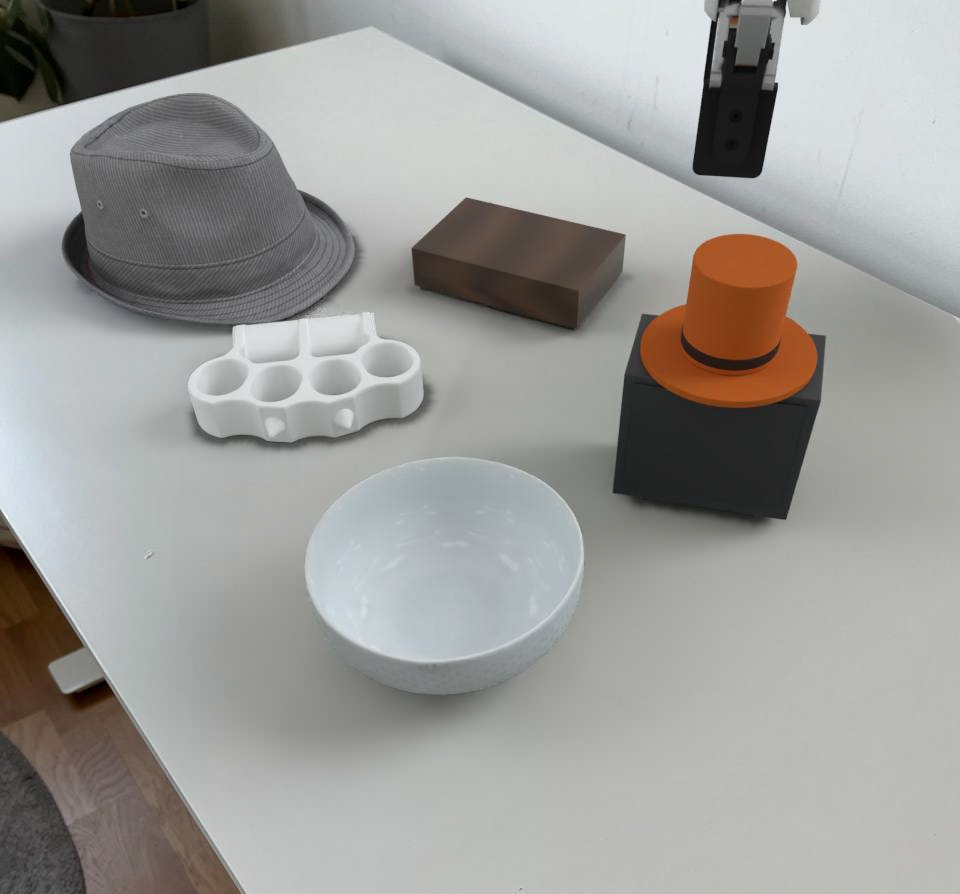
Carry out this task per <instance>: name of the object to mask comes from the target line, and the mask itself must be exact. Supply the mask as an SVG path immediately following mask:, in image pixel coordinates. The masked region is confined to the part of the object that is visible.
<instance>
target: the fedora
mask: <svg viewBox="0 0 960 894" xmlns="http://www.w3.org/2000/svg"><path fill="white" fill-rule="evenodd" d="M69 158H70V165H71V170H72V176H73V181H74V184H75V185H74V186H75V191H76V193H77V198H78V201H79V206H80V209H81V210H80V212H78V213H77V214H76V215H75V216H74V217H73V219H72V220H71V221H70V223H69V224H68V226H67V227H66V229H65V231H64V233H63V235H62V239H61V246H60V247H61V254H62V258H63V260H64V262H65V264H66V265H67V267H68V268H69V269H70V271H71V272H72V273H73V275H74V276H75V277H77V279H79V280H80V281H81V282H82V283H83V284H84V285H85V286H86V287H88V288H89V289H90V290H92V291H93V293H95V294H96V295H98V296H99V297H101V298H103V299H104V300H105V301H108V302H109V303H112V304H114V305H117V306H119V307H121V308H123V309H125V310H129V311H131V312H134V313H139V314H143V315H147V316H150V317H153V318H159V319H165V320H170V321H177V322H185V323H190V324H191V323H192V324H200V325H210V326H223V327H224V326H226V327H234V326H236V325H253V324H263V323H273V322H281V321H284V320H286V319H288V318H290V317H293V316H295V315H297V314H299V313H302V312H304V311H305V310H307V309H309V308H310V307H312V306H313V305H315V304H316V303H317V302H318V301H320V300H321V299H323V298H324V297H325V296H327V295H328V294H329V293H330V292H331V291H332V290H333V289H334V288H336V286H337V285H338V284H339V283H340V282H341V281H342V280H343V279H344V277H346V275H347V274H348V273H349V271H350V269H351V268H352V266H353V263H354V260H355V259H354V258H355V255H356V253H355V252H356V247H355V242H354V238H353V235H352V234H351V231H350V229H349V227H348V225H346V223H345V222H344V220H343V218H342V217H341V216H340V215H339V213H338V212H337V211H335V209H334V208H332V207H331V206H330V205H329V204H327V203H326V202H324V201H323V200H321V199H320V198H319V197H317V196H315V195H312V194H310V193H308V192H306V191H303V190H301V189H299V188H297V185H296V183H295V181H294V179H293V178H292V176H291V174H290V173H289V171H288V169H287V167H286V165H285V163H284V161H283V159H282V156H281V154H280V152H279V151H278V148H277V147H276V144H275V142H274V140H273V139H272V138H271V137H270V135H269V134H268V133H267V132H266V131H265V130H263V129H262V127H261V126H260V125H258V124H257V123H256V122H255V121H254V120H253V119H252V118H251V117H250V116H249V115H247V114H246V113H245V112H244V110H242V109H241V108H240V107H238V106H237V105H235V104H233V102H230V101H228V100H226V99H224V98H223V97H220V96H217V95H214V94H210V93H204V92H203V93H202V92H184V93H175V94H171V95H166V96H161V97H158V98H154V99H152V100H149V101H146V102H141V103H139V104H138V103H137V104H135V105H133V106H130V107H127V108H125V109H124V110H121V111H119V112H117V113H115V114H113V115H111V116H109V117H108V118H106V119H105V120H104V121H102V122H101V123H100V124H98V125H95V126H94V127H93V128H91V129H90V130H88V131H87V132H85V133H84V134H83V135H81V137H80V138H79V139H78V140H77V141H76V142H75V143H74V144H73V146H72V147H71V149H70V153H69Z"/></svg>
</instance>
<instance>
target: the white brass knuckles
mask: <svg viewBox="0 0 960 894" xmlns="http://www.w3.org/2000/svg"><path fill="white" fill-rule="evenodd" d="M231 333H232V334H231V335H232V336H231V337H232V338H231V339H232V340H231V341H232V348H231V349H230V350H229V351H228V352H227V353H226V354H224V355H222V356H218V357H215V358H212V359H209V360H208V361H205V362H203V363H202V364H201V365H199V366H197V368H196V369H194V371H193V372H192V373H191V374H190V376H189V378H188V381H187V392H188V395H189V398H190V401H191V404H192V408H193V410H194V411H193V412H194V414H195V417H196V420H197V423H198V425H199V427H200V428H201V429H202V431H204V433H206V434H209V435H210V436H213V437H215V438H220V439H224V438H228V437H232V436H253V437H258V438H261V439H263V440H265V441H266V442H277V443H291V444H292V443H293V442H296V441H299V440H301V439H305V438H306V439H307V438H310V437H311V438H312V437H328V438H333V439H337V438H339V437H343V436H346V435H351V434H353V433H356V432H359V431H360V430H361V429H363V428H364V427H366V426H368V425H369V424H372V423H374V422H378V421H381V420H386V419H401V420H402V419H404V418H406V417H408V416H410V415H411V414H414V412H416V410H417V409H419V408H420V406H421V404H422V403H423V400H424V393H425V391H424V381H423V380H424V379H423V369H422V360H421V357H420V355H419V353H418V351H417V350H416V349H415V348H413V347H412V346H411V345H409V344H407V343H405V342H402V341H399V340H393V339H384V338H382V337H380V336H378V335H377V327H376V319H375V312H370V311H365V312H364V311H363V312H361V313H356V314H345V315H344V314H343V315H334V316H323V317H313V318H308V317H305V318H299V319H294V320H281V321H277V322H273V323H263V324H253V325H236V326H232V332H231Z"/></svg>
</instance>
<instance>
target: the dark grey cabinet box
mask: <svg viewBox="0 0 960 894" xmlns="http://www.w3.org/2000/svg"><path fill="white" fill-rule="evenodd" d="M658 316H659V314H658V315H657V314H650V313H649V314H648V313H641V316H640V319H639V322H638V326H637V330H636V332H635V337H634V339H633V343H632V346H631V350H630V354H629V357H628V361H627V364H626V369H625V371H624V376H623V384H622V394H621V403H620V415H619V425H618V433H617V444H616V453H615V466H614V475H613V483H612V494H615V495H616V494H617V495H621V496H627V497H636V498H641V499H642V500H647V501H653V502H661V503H668V504H674V505H679V506H680V505H681V506H687V507H694V508H700V509H706V510H711V511H719V512H726V513H730V514H739V515H744V516H750V517H755V516H756V517H762V518H763V517H764V518H768V519H776V520H783V521H787V519H788V515H789V512H790V508H791V505H792V502H793V498H794V495H795V491H796V488H797V484H798V481H799V479H800V474H801V470H802V467H803V464H804V460H805V457H806V454H807V451H808V450H807V449H808V446H809V443H810V440H811V437H812V432H813V429H814V426H815V424H816V423H815V422H816V419H817V415H818V412H819V409H820V405H821V402H822V391H823V380H824V366H825V355H826V343H827V335H823V334H814V333H808V334H809V336H810V337H811V339H812V340H813V342H814V344H815V347H816V350H817V364H816V368H815V371H814V374H813V376H812V378H811V379H810V381H809V382H808V383H807V384H806V385H805V386H804V387H803V388H802V389H801V390H800V391H798V392H797V393H796V394H794V395H792V396H790V397H789V398H786V399H784V400H781V401H779V402H776V403H772V404H769V405H763V406H758V407H748V408H728V407H718V406H711V405H706V404H702V403H698V402H695V401H692V400H689V399H686V398H683V397H681V396H679V395H676V394H675V393H673V392H671V391H669V390H667V389H666V388H664V387H663V386H662V385H660V384H659V383H658V382H657V381H656V380H654V379H653V378H652V377H651V375H650V374H649V373H648V372H647V370H646V368H645V367H644V365H643V362H642V359H641V354H640V347H641V339H642V336H643V333H644V331H645V330H646V328H647V327H648V325H649V324H650V323H651V322H652V321H653V320H654V319H655V318H657V317H658Z"/></svg>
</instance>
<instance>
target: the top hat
mask: <svg viewBox="0 0 960 894" xmlns="http://www.w3.org/2000/svg"><path fill="white" fill-rule="evenodd" d="M797 270H798V260H797V257H796V256H795V254H794V252H792V250H791V249H790V248H788V246H786V245H784V244H782V243H781V242H780V241H777V240H774V239H771V238H768V237H765V236H762V235H761V236H760V235H756V234H750V233H749V234H748V233H730V234H723V235H719V236H715V237H711V238H710V239H707V240H706V241H704V242H702V243H701V244H700V245H699V246H698V247H697V248H696V249H695V251H694V253H693V258H692V263H691V271H690V276H689V284H688V290H687V296H686V303H684V304H680V305H678V306H675V307H673V308H670V309H668V310H666V311H664V312H662V313H661V314H660V315H659V314H658V315H659V316H658V317H657V318H655V319H654V320H653V321H652V322H651V323H650V324H649V325H648V327H647V328H646V330H645V331H644V333H643V336H642V339H641V347H640V354H641V359H642V362H643V365H644V367H645V368H646V370H647V372H648V373H649V374H650V375H651V377H652V378H653V379H654V380H656V381H657V382H658V383H659V384H660V385H662V386H663V387H664V388H666V389H667V390H669V391H671V392H673V393H675V394H676V395H679V396H681V397H683V398H686V399H689V400H692V401H695V402H698V403H702V404H706V405H711V406H718V407H728V408H748V407H758V406H763V405H769V404H772V403H776V402H779V401H781V400H784V399H786V398H789V397H790V396H792V395H794V394H796V393H797V392H798V391H800V390H801V389H802V388H803V387H804V386H805V385H806V384H807V383H808V382H809V381H810V379H811V378H812V376H813V374H814V371H815V368H816V364H817V350H816V347H815V344H814V342H813V340H812V339H811V337H810V336H809V334H810V333H808V332H807V330H806V329H804V328H803V327H802V326H801V325H800V324H799V323H798V322H796V321H795V320H793V319H792V318H790V317H788V316H787V313H788V312H787V311H788V307H789V304H790V300H791V295H792V291H793V287H794V282H795V279H796V274H797Z"/></svg>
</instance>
